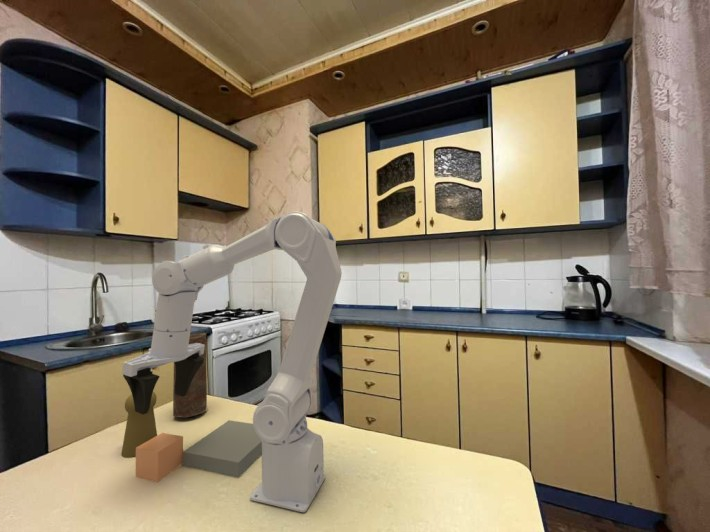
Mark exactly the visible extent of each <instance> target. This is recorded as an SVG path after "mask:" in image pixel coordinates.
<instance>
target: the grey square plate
mask: <svg viewBox="0 0 710 532" xmlns="http://www.w3.org/2000/svg"><path fill="white" fill-rule="evenodd" d="M260 457H262V442H261V438H260V437H259V436H258V435H257V433H256V431H255V429H254V426H253V423H250V422H243V421H238V420H230V419H229V420H227V421H225V422H224V423H223V424H221V425H220V426H218V427H217V428H216V429H214V430H212V431H210V433H208V434H206V435H205V436H204V437H202V438H201V439H200V440H197V442H195V443H194V444H192V445H190V446H189V447H187V449H185V450H183V464H182V467H187V468H192V469H195V470H200V471H206V472H210V473H214V474H220V475H224V476H228V477H233V478H237V479H238V478H240V477H241V476H242V475H243V474H244V473H245V472H246V471H247V470H248V469H249V468H250V467H251V466H252V465H253V464H254V463H255V462H256V461H257V460H258V459H259V458H260Z"/></svg>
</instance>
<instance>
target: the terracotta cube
mask: <svg viewBox="0 0 710 532" xmlns="http://www.w3.org/2000/svg"><path fill="white" fill-rule="evenodd" d="M183 451H184V435H176V434H172V433H166V432H161V433H159V434H157V436H156V437H154V438H152V439H150V440H149V441H147V442H145V443H143V444H142V445H140V446H138V447H136V457H135V478H138V479H139V478H140V479H143V480H146V481H147V480H148V481H152V482H156V483H158V482H160V481H161V480H162V479H164V478H165V477H167V476H168V475H170V474H171V473H172V472H174V471H175V470H176V469H178V468H179V467H181V466H183Z"/></svg>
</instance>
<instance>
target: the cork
mask: <svg viewBox="0 0 710 532" xmlns="http://www.w3.org/2000/svg"><path fill="white" fill-rule="evenodd" d="M156 404H157V394H156V393H155V392H154V391H153V393H152V397H151V403H150V408H149V411H148V413H146V414H140V413H138V412H135V406H134V400H133V396H132V394H130V395H129V396H128V397H127V398H126V400H125V402H124V409H125V412H126V413H127V418H126V425H125V430H124V437H123V442H122V449H121V454H120V456H121V457H123V458H125V459H127V458H129V459H130V458H131V459H132V458H136V447H138V446H140V445H142V444H143V443H145V442H147V441H149V440H150V439H152V438H154V437H156V436H157V435H158V431H157V424H156V418H155V410H154V407H155V406H156Z"/></svg>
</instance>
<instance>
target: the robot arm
mask: <svg viewBox="0 0 710 532" xmlns="http://www.w3.org/2000/svg"><path fill="white" fill-rule="evenodd" d="M336 244H337V239H336V238H335V236H334V235H333V233H332V232H331V230H330V229H329V228H328V226H326V225H325V224H323V222H319V221H317V220H315V219H313V218H311V217H309V215H308V214H306V213H304V212H301V211H291V212H288V213H286V214H284V215H283V216H281V217H280V216H279V217H275V218H272V219H271V220H270V221H269V222H268V223H267V224H266V225H264V226H261V228H260V227H259V228H258V229H256V230H255V231H252V232H251V233H249V234H247V235H246V236H243V237H241V238H239V239H238V240H236V241H234V242H232V243H230V244H228V245H226V246H223V245H220V244H212V243H206V244H204V245H203V246H202V249H201V250H199V251H197V252H195V253H193V254H191V255H183V256H182V257H181V259H180V260H179V261H176V262H175V261H172V260H163V261H162V262H161V263H160V264H158V265H157V266H156V267H155V268H154V270H153V273H152V275H151V280H152V286H153V289H154V290H155V291H156V292H157V293H158V296H157V303H156V309H155V317H154V324H153V332H152V337H151V345H150V348H148V352H146V353H143V354H141V355H140V356H137V357H135V358H133V359H129V360H126V361H123V364H122V371H121V374H122V377H123V378H124V380H125V381H126V383H127V385H128V387H129V389H130V392H131V395H132V396H133V400H134V406H135V412H138V413H140V414H146V413H148V411H149V408H150V403H151V397H152V393H153V392H154V389H155V387H156V385H157V383H158V381H159V379H160V377H161V376H159V375H158V374H155V373H153V371H152V369H155V368H158V367H161V366H164V365H168V364H171V363H174V362H175V368H176V380H175V394H177V395H180V396H185V395H186V394H187V391H188V389H189V386H190V384H191V382H192V380H193V378H194V376H195V374H196V372H197V371H198V369H199V368H200V367H201V365H202V364H203V363H204V358H203V357H200V356H199V355H202V354H204V347H205V345H204V344H200V343H195V344H189V337H190V334H191V330H192V322H193V321H192V320H193V316H194V310H195V309H194V307H195V303H196V302H197V300H198V295H199V293H200V292H201V290H203V289H204V287H205V285H208V284H211V283H212V282H214V281H217V280H220V279H221V278H224V277H226V276H229V275H230V274H232V273H233V270H234V268H235V265H236V264H239V263H242V262H244V261H246V260H250V259H252V258H255V257H258V256H259V255H263V254H265V253H268V252H270V251H274V250H276V251H277V250H278V251H284V252H285V253H286V254H287V255H289V256H290V257H291V258H292V259H294V260H295V261H296V263H297V264H298V266H299V267H300V270H302V272H303V273H304V275H305V277H306V281H305V284H304V288H303V292H302V294H301V297H300V301H299V304H298V308H297V311H296V314H295V318H294V321H293V324H292V328H291V330H290V333H289V337H288V340H287V344H286V347H285V350H284V354H283V357H282V360H281V364H280V367H279V370H278V373H277V375H276V376H275V377H274V379H273V381H272V382H271V384H270V385H269V387H268V389H267V390H266V394H265V396H264V398H263V400H262V402H260V403H259V405H258V406H257V407H256V408H255V409H254V412H253V415H252V424H253V426H254V429H255V431H256V433H257V435H258V436H259V437H260V438H261V442H262V455H261V483H259V485H258V486H257V487H256V488H255V489H254V490H253V492H252V493H251V494H250V495H249V499H250V500H251V501H253V502H258V503H262V504H266V505H271V506H275V507H279V508H282V509H288V510H292V511H296V512H301V513H305V512H307V511H308V508H309V507H310V505H311V503H312V502H313V500H314V499H315V497H316V494H317V493H318V491H319V489H320V488H321V486H322V484H323V482H324V480H325V479H326V473H324V470H325V469H324V466H325V465H324V461H325V460H324V459H325V458H324V440H323V437H322V436H321V434H318V433H315V432H313V431H312V430H310V429H309V427H308V421H307V414H308V412H309V411H310V409H311V407H312V405H313V395H312V387H313V383H314V379H313V377H312V372H313V370H314V367H315V363H316V360H317V357H318V355H319V351H320V348H321V344H322V341H323V338H324V334H325V331H326V328H327V325H328V322H329V318H330V315H331V312H332V308H333V305H334V302H335V299H336V295H337V292H338V289H339V286H340V283H341V280H342V274H343V273H342V268H341V264H340V259H339V255H338V250H337V248H336V247H337V246H336ZM188 344H189V345H188Z"/></svg>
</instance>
